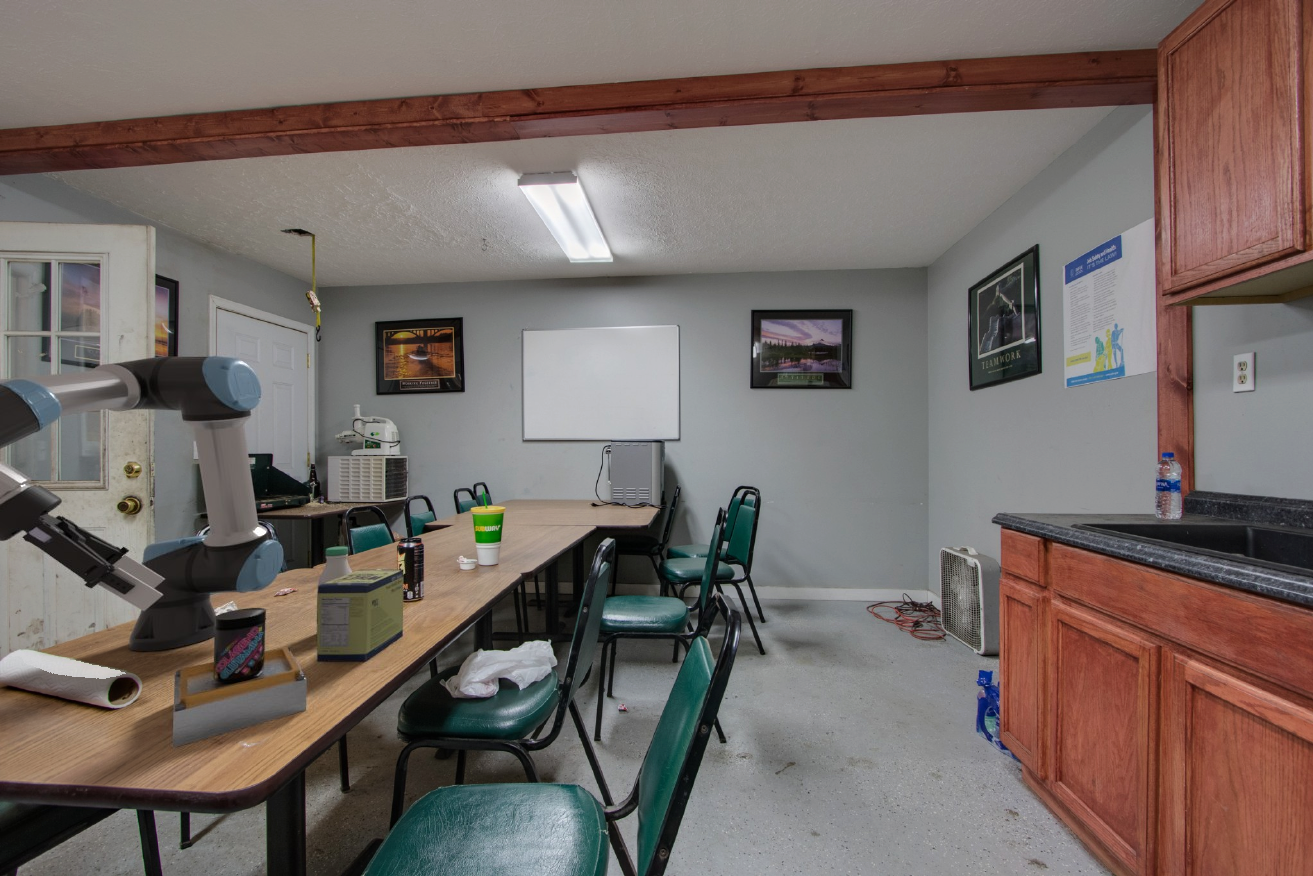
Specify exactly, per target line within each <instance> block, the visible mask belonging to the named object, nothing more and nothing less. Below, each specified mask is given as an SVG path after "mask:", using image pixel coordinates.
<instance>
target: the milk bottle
mask: <svg viewBox="0 0 1313 876" xmlns="http://www.w3.org/2000/svg"><path fill="white" fill-rule="evenodd" d="M348 556H349V547H348V546H332V547H328V548H326V549H325V559H326V562H325V566H324V568H323V571H322V572H321V574H320V577H319V579H318V583H317V587H318V586H319V585H321V584H323V583H326V582H329V581H332V580H334V579H337V578H340V577H342V576H345V575H348V574H350V573H353V571H352V569H351V567H350V565H349V562H348ZM316 594H317V595H316V596H317V597H316V630H317V629H318V590H317V591H316Z"/></svg>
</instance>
